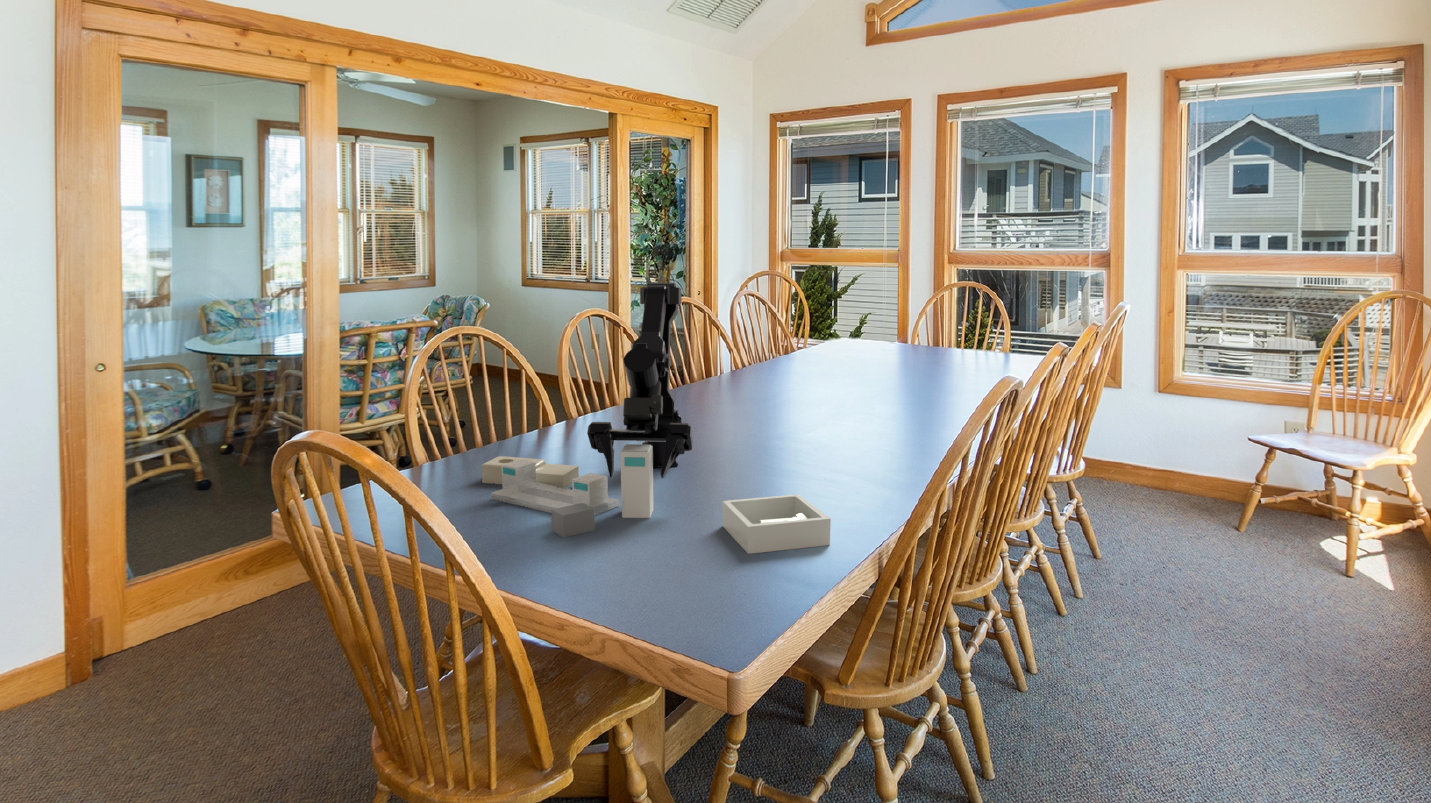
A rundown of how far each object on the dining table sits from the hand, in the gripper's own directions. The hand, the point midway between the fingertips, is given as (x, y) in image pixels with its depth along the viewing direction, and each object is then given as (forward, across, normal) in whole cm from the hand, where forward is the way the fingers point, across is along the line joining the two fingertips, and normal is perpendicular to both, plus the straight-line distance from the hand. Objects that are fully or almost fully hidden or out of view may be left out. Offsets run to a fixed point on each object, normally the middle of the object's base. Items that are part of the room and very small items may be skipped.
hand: (636, 476), depth 162 cm
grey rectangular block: (+11, -10, -1) cm, 15 cm away
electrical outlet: (-9, -25, +20) cm, 33 cm away
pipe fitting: (+12, +25, -2) cm, 28 cm away
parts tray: (+12, +25, -1) cm, 27 cm away
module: (+4, 0, +6) cm, 7 cm away
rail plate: (0, -17, +10) cm, 19 cm away
